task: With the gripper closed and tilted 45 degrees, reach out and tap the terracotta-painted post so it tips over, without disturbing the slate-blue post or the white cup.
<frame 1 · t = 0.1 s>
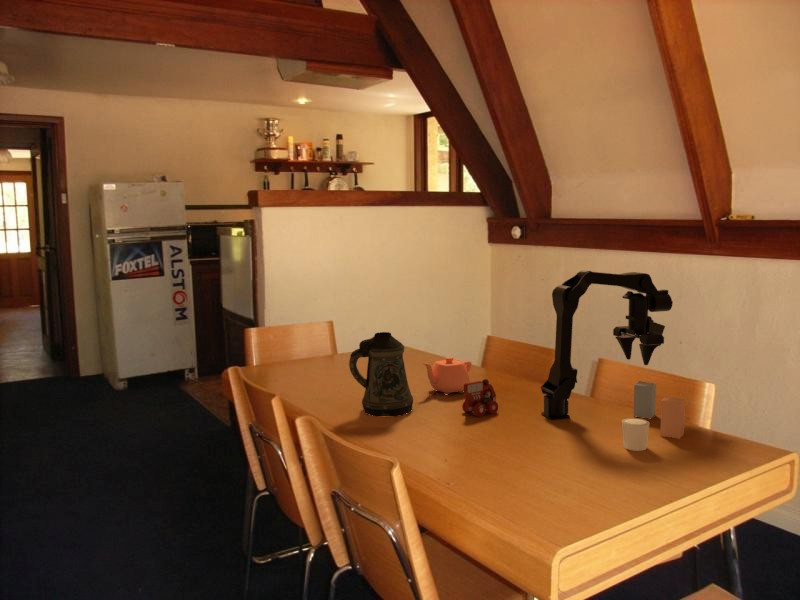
hand: (637, 362, 213), 15 cm above the table, tool pointing down, fingers open, 9 cm apart
teapot: (447, 392, 239), on the table
terracotta post: (672, 434, 188), on the table
beer stein: (384, 411, 217), on the table
toy fire truck: (480, 413, 213), on the table
white cup: (635, 447, 178), on the table
slate post: (644, 416, 205), on the table
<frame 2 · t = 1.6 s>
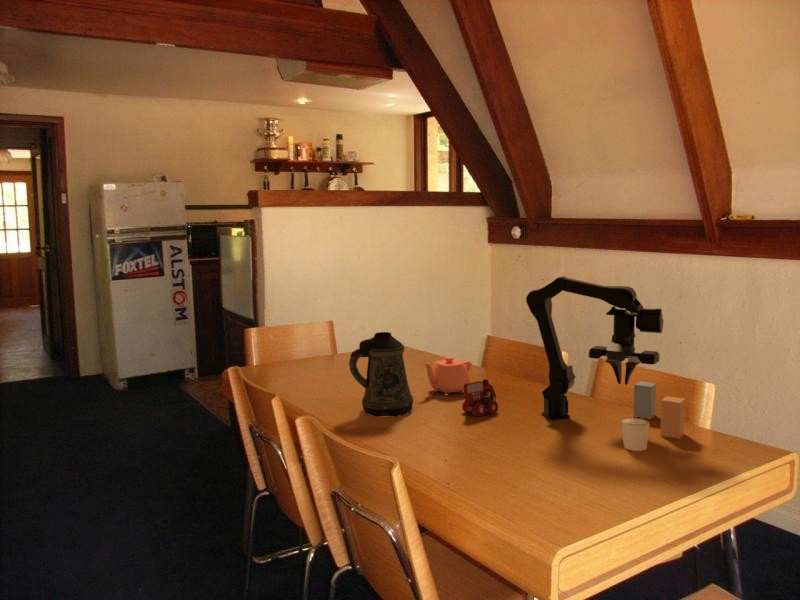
hand: (622, 384, 196), 12 cm above the table, tool pointing down, fingers closed
nothing on the table moved.
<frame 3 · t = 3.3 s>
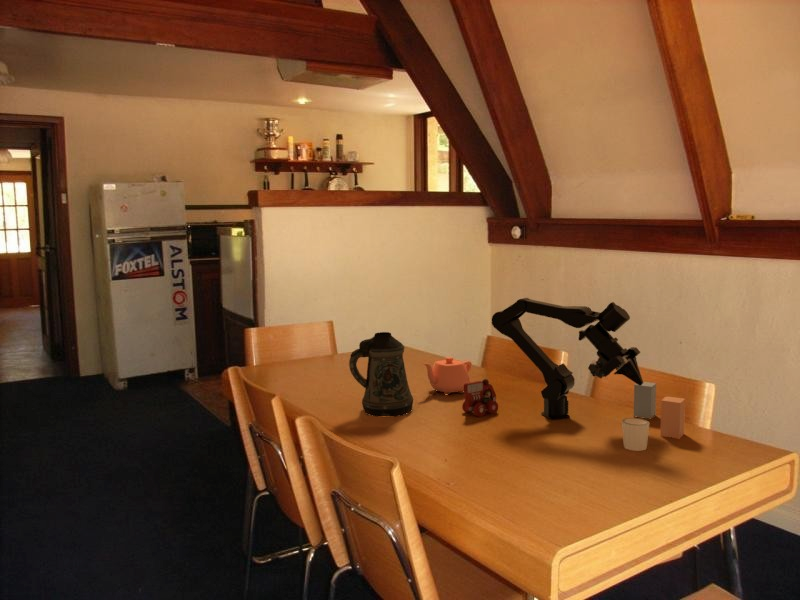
hand: (641, 384, 191), 13 cm above the table, tool tilted 45°, fingers closed
nothing on the table moved.
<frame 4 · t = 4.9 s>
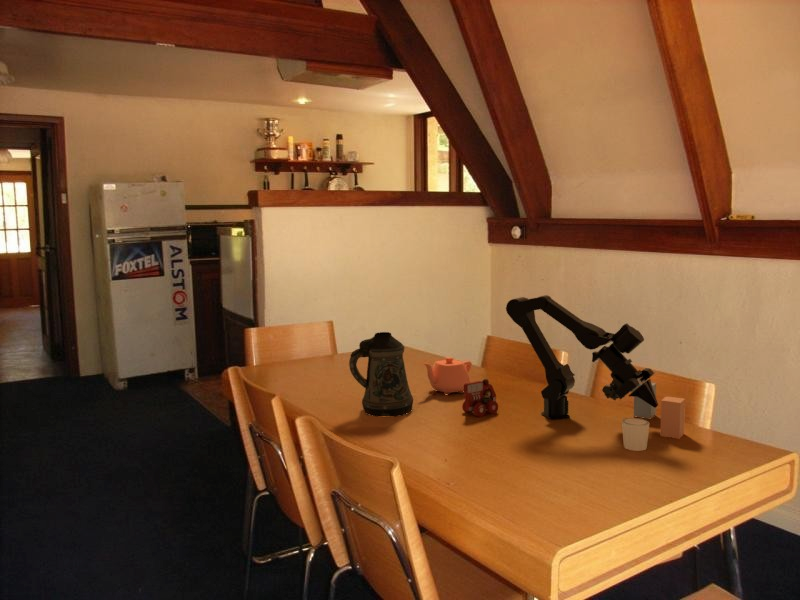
hand: (656, 406, 189), 7 cm above the table, tool tilted 45°, fingers closed
nothing on the table moved.
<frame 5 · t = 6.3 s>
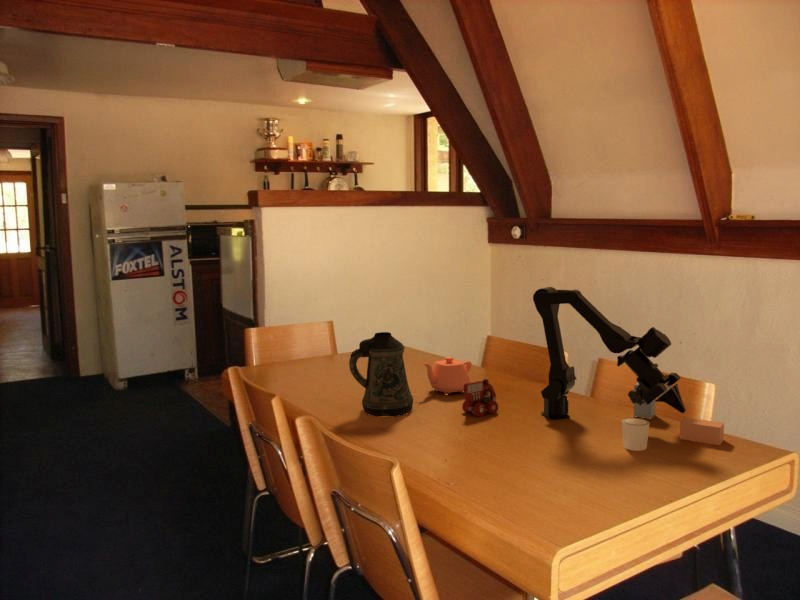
hand: (684, 412, 185), 7 cm above the table, tool tilted 45°, fingers closed
terracotta post: (682, 428, 186), point 2 cm above the table, tilted 90°
everything else where it was.
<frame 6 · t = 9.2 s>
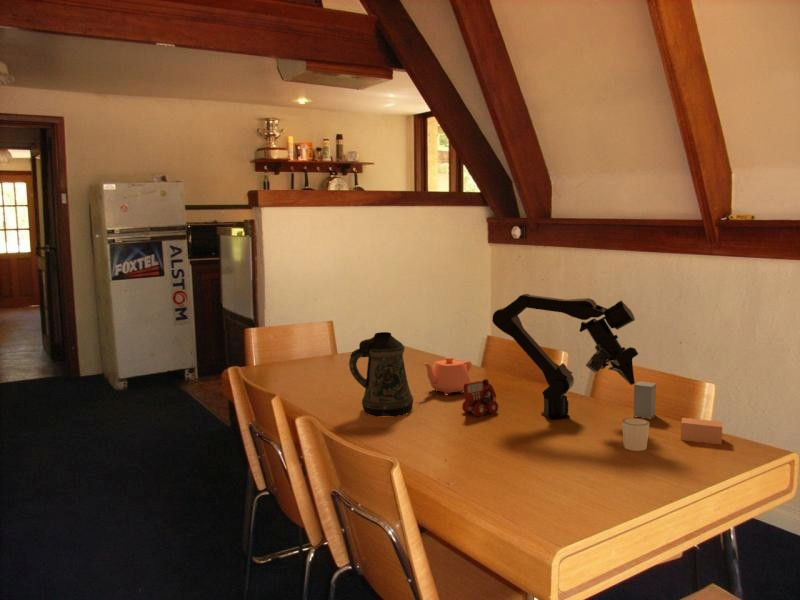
hand: (632, 384, 196), 12 cm above the table, tool tilted 30°, fingers closed
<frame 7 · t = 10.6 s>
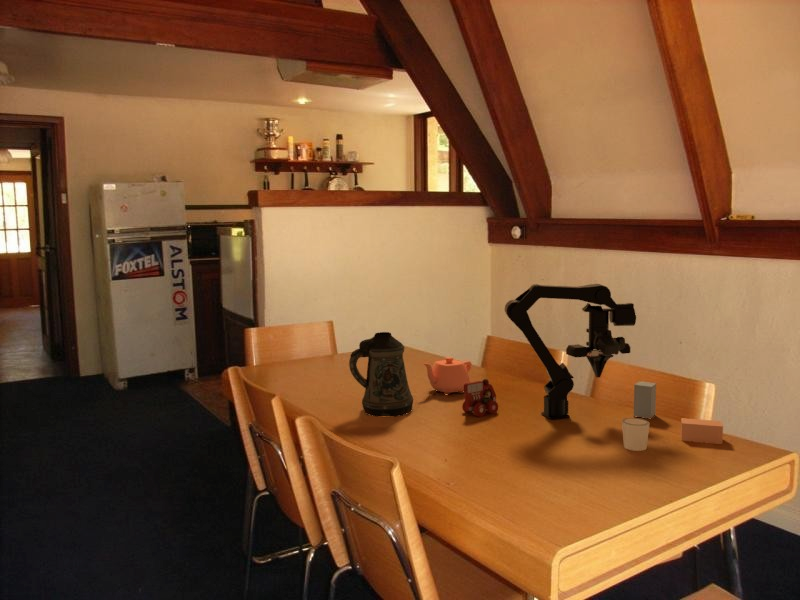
hand: (598, 377, 205), 12 cm above the table, tool pointing down, fingers closed
nothing on the table moved.
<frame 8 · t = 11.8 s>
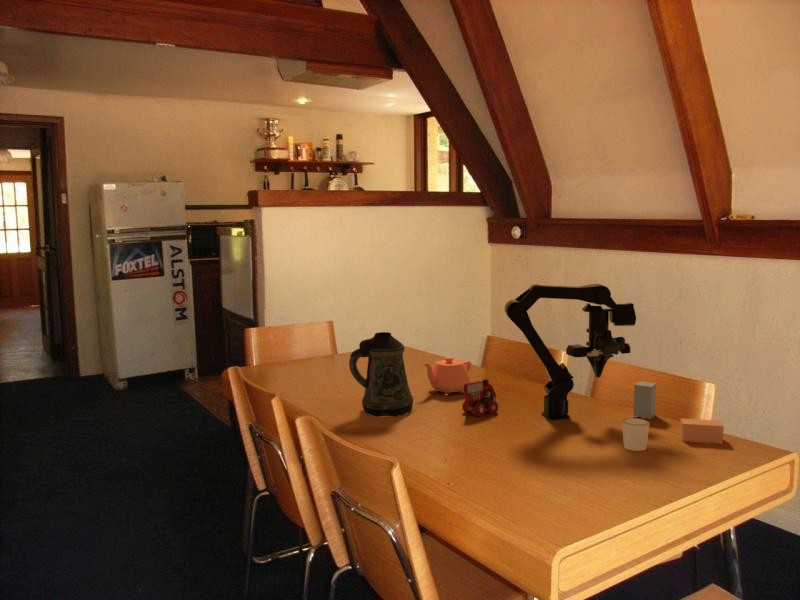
hand: (598, 377, 205), 12 cm above the table, tool pointing down, fingers closed
nothing on the table moved.
at the end: terracotta post tilted 90°; slate post tilted 0°; white cup moved 0.2 cm from its start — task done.
